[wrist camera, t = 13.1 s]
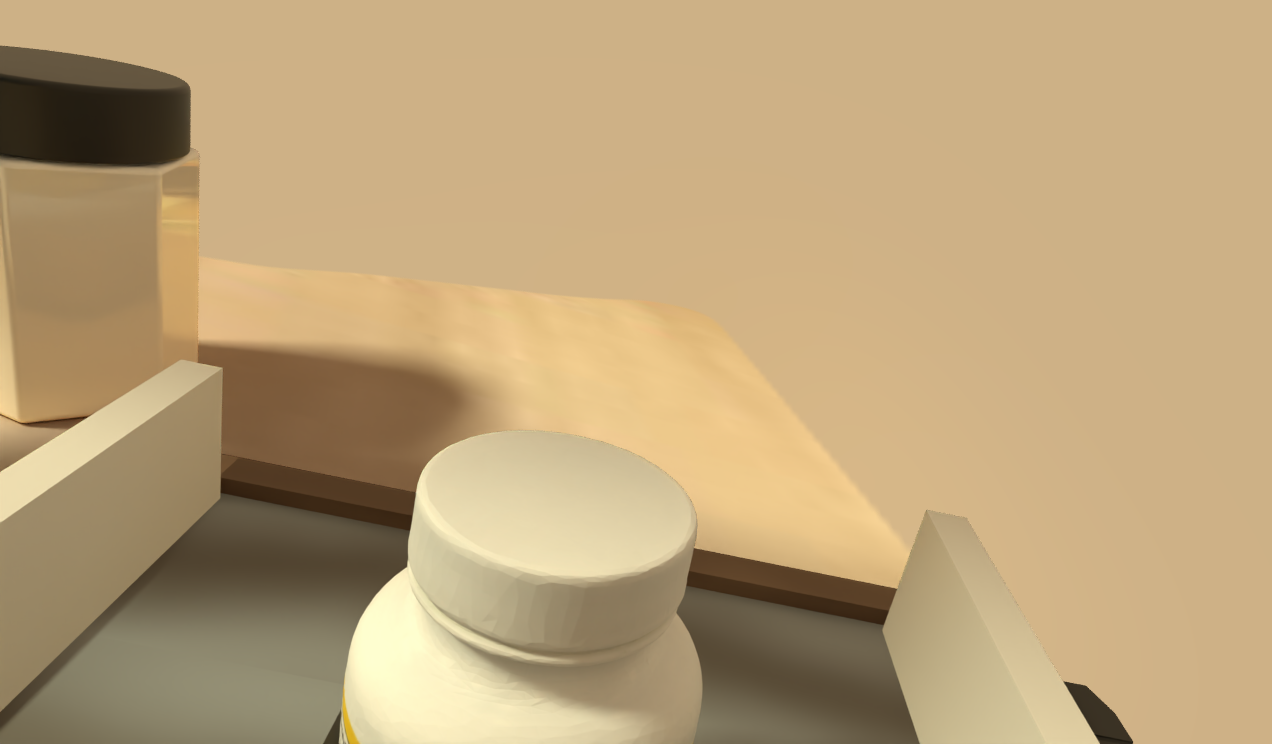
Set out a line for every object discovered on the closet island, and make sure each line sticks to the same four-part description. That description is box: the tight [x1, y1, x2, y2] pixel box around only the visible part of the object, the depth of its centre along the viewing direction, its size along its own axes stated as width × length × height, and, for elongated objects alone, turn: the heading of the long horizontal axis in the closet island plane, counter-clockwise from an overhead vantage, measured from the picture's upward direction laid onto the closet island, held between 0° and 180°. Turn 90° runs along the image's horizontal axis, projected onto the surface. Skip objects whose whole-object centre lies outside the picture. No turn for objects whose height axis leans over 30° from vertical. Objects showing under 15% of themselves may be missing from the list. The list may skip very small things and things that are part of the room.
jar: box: [0, 46, 200, 423], centre depth 32 cm, size 9×8×12 cm
